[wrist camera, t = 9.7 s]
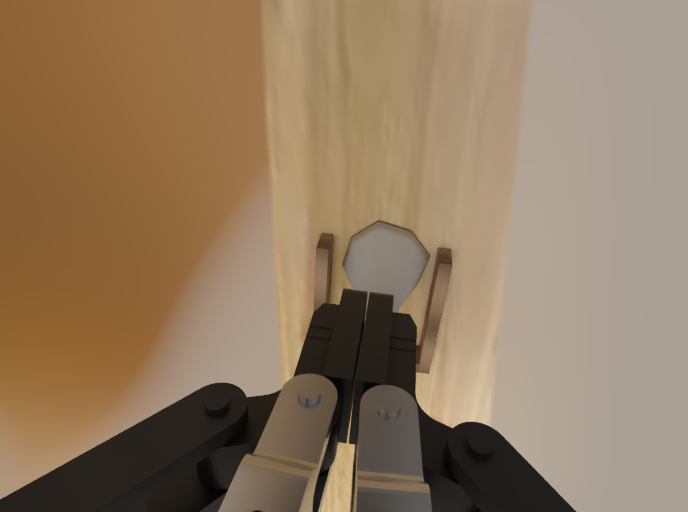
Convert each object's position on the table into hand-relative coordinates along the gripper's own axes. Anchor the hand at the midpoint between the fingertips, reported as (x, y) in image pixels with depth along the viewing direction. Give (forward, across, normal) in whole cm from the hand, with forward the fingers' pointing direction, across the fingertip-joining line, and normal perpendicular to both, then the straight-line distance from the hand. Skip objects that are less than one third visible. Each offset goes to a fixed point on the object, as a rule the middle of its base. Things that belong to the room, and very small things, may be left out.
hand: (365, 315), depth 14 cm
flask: (+25, 0, +13) cm, 28 cm away
